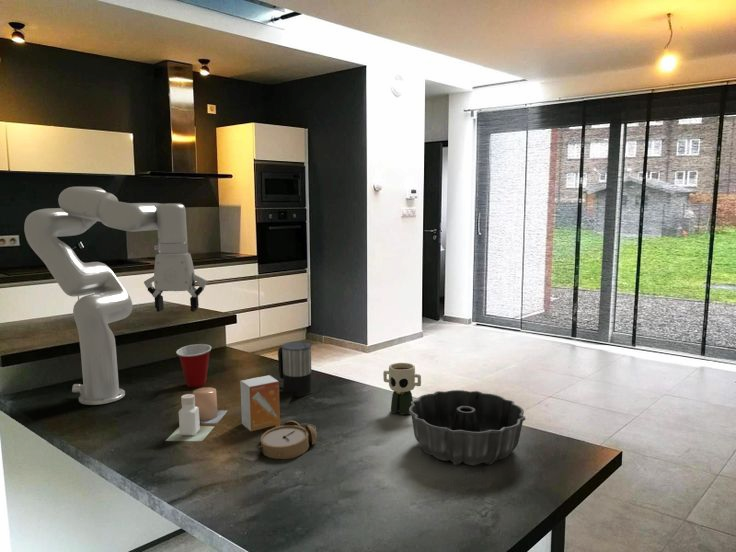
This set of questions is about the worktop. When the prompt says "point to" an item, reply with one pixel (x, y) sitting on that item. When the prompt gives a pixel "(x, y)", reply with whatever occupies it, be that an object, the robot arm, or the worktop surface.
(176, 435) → the board
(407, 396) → the character mug
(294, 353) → the milk frother
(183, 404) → the salt shaker
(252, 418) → the small box
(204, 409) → the peach rounded cylinder
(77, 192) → the robot arm
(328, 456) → the worktop surface
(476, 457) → the bundt pan
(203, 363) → the plastic cup
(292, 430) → the alarm clock
